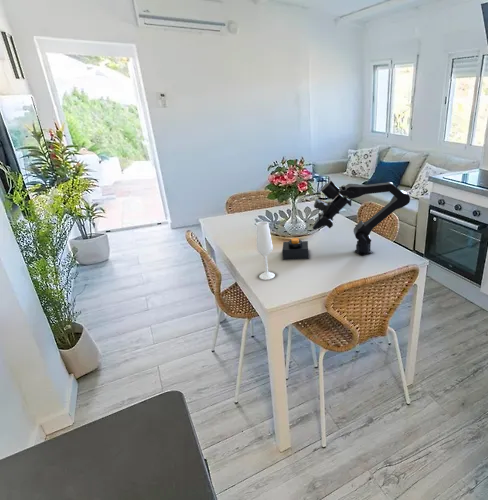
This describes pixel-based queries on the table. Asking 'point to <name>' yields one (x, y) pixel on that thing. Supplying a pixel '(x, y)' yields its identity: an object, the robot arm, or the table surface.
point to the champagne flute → (264, 246)
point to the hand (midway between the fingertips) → (313, 228)
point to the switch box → (295, 250)
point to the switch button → (295, 240)
